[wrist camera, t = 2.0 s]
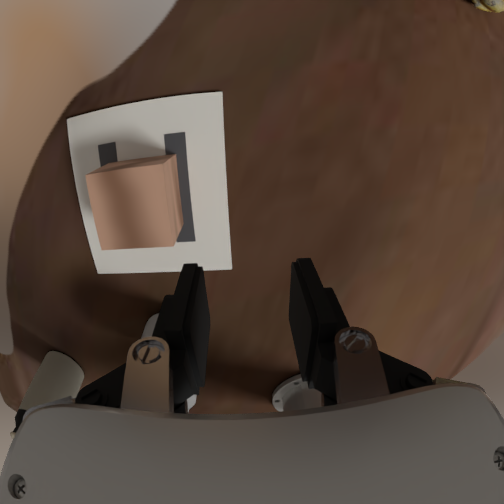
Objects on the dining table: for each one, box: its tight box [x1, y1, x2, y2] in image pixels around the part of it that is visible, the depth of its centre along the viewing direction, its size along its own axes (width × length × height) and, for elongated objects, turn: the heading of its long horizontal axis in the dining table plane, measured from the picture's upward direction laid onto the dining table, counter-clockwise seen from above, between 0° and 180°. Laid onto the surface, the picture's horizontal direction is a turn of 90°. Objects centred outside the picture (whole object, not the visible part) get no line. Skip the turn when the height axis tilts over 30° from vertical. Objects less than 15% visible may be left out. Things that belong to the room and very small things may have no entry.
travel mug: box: [10, 351, 84, 439], centre depth 31 cm, size 8×8×18 cm
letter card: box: [67, 92, 232, 274], centre depth 27 cm, size 16×18×1 cm
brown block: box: [85, 154, 184, 250], centre depth 24 cm, size 7×7×5 cm
